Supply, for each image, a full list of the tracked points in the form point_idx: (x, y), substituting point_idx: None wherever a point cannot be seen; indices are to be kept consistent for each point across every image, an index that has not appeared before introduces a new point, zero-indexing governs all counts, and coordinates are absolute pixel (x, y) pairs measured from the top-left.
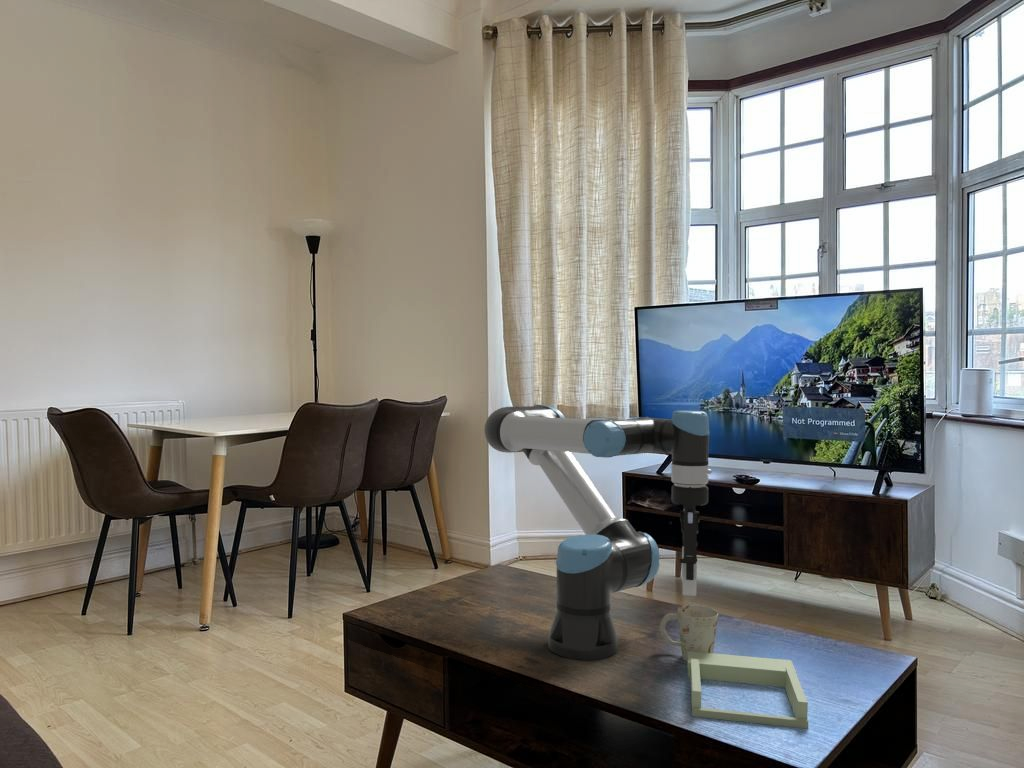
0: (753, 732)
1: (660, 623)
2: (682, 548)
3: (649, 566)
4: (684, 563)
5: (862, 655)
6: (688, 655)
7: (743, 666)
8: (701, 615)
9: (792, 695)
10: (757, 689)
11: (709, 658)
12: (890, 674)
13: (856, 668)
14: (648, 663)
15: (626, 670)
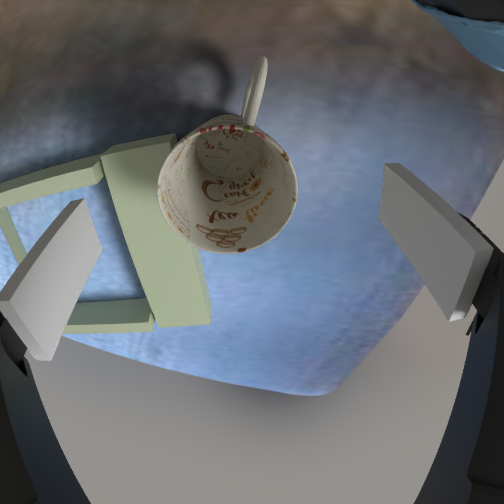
0: (5, 260)
1: (258, 58)
2: (470, 246)
3: (445, 6)
4: (2, 306)
5: (326, 368)
6: (141, 148)
7: (137, 259)
8: (283, 190)
9: (85, 314)
10: (126, 262)
11: (144, 195)
12: (267, 386)
13: (275, 364)
14: (155, 48)
15: (97, 19)
